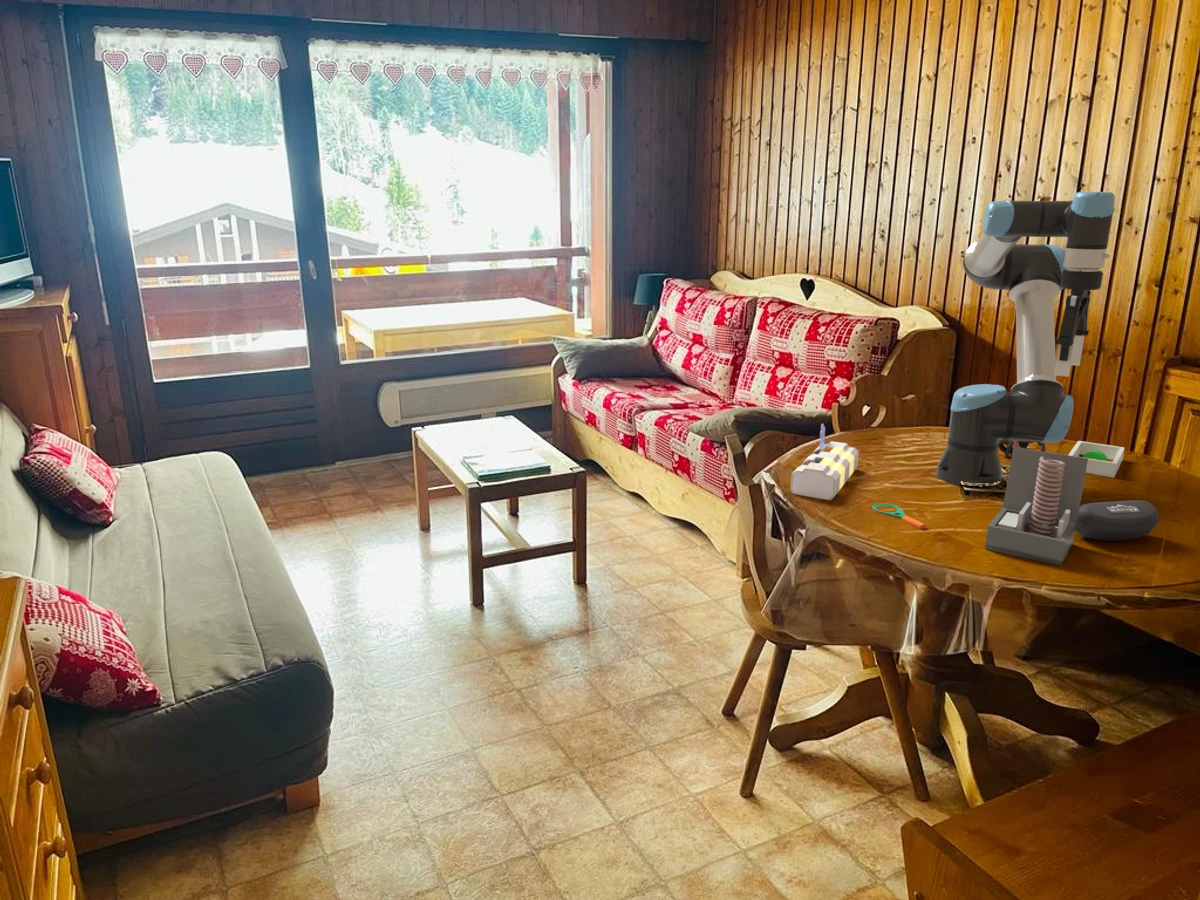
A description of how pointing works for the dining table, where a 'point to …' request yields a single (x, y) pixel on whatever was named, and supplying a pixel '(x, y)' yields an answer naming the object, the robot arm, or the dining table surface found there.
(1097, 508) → the glasses case
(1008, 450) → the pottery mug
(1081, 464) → the case
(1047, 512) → the coil
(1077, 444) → the parts corral
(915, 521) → the magnifying glass
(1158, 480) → the dining table surface
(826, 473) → the white striped block
